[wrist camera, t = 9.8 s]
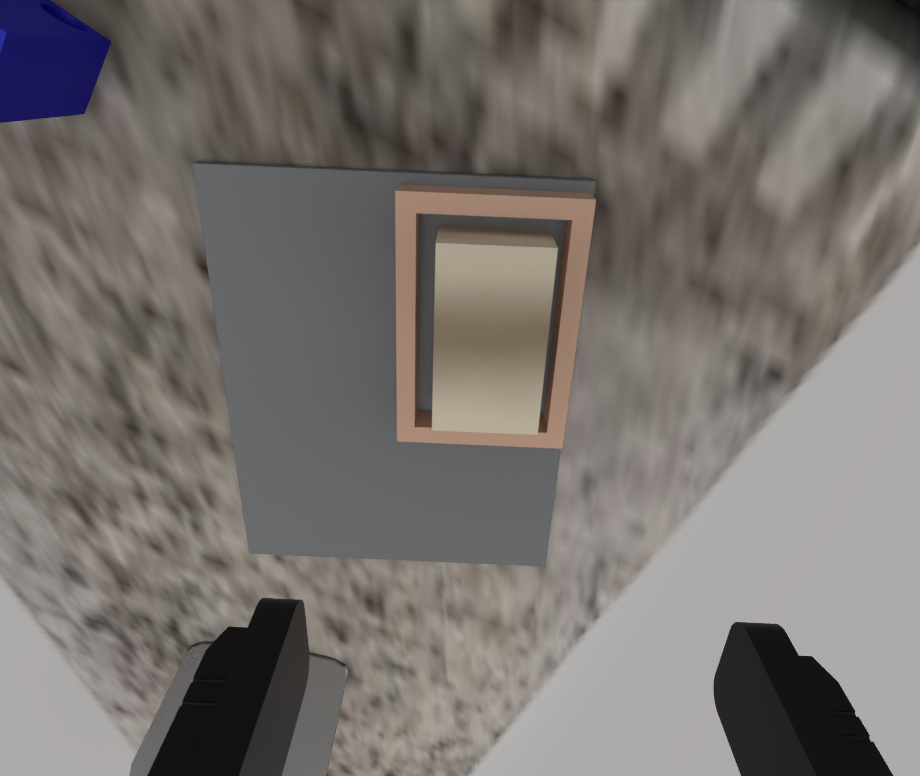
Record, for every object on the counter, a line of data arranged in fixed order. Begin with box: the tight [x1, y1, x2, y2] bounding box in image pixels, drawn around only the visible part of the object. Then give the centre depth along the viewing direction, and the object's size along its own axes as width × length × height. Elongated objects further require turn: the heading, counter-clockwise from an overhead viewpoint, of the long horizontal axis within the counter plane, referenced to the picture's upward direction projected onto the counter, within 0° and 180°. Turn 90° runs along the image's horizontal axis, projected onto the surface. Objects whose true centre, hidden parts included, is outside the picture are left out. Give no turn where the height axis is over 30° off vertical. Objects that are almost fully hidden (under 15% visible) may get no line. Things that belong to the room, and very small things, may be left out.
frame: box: [395, 184, 596, 449], centre depth 27 cm, size 11×8×2 cm
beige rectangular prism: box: [432, 225, 558, 435], centre depth 26 cm, size 8×4×3 cm, turn 178°
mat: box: [192, 162, 596, 566], centre depth 29 cm, size 20×16×1 cm
